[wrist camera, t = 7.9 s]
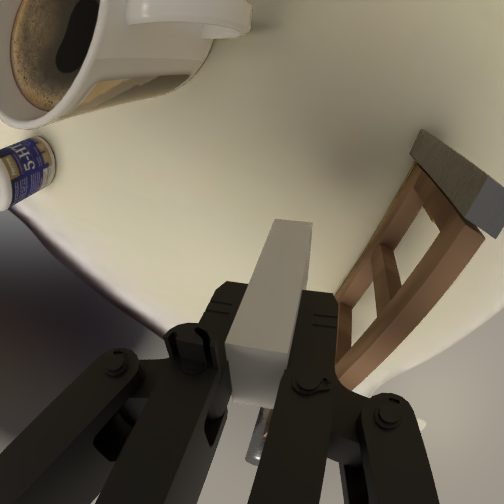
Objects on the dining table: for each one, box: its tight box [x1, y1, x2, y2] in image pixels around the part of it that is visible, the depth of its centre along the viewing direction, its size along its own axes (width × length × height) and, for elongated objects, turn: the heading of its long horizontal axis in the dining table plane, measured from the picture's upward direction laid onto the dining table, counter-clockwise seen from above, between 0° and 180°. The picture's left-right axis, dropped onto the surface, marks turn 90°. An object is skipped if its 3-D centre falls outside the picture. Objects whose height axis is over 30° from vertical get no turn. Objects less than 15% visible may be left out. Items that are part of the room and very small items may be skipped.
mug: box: [0, 0, 252, 130], centre depth 13 cm, size 10×12×11 cm
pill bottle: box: [0, 137, 55, 211], centre depth 21 cm, size 5×5×9 cm
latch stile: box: [410, 129, 504, 239], centre depth 14 cm, size 4×3×10 cm
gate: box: [335, 164, 485, 391], centre depth 17 cm, size 12×1×9 cm, turn 161°
